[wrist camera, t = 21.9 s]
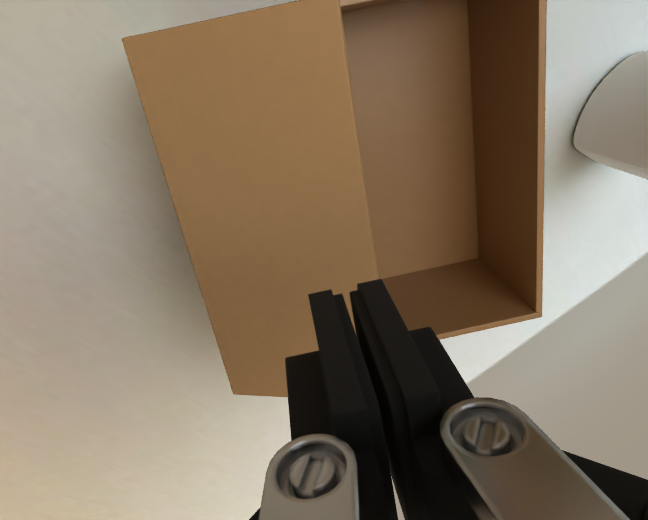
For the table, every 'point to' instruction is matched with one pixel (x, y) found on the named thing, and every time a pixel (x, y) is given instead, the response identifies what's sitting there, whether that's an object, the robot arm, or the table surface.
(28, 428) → the table surface
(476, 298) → the carton
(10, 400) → the table surface
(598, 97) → the eye dropper bottle
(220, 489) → the table surface
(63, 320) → the table surface
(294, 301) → the carton flap
